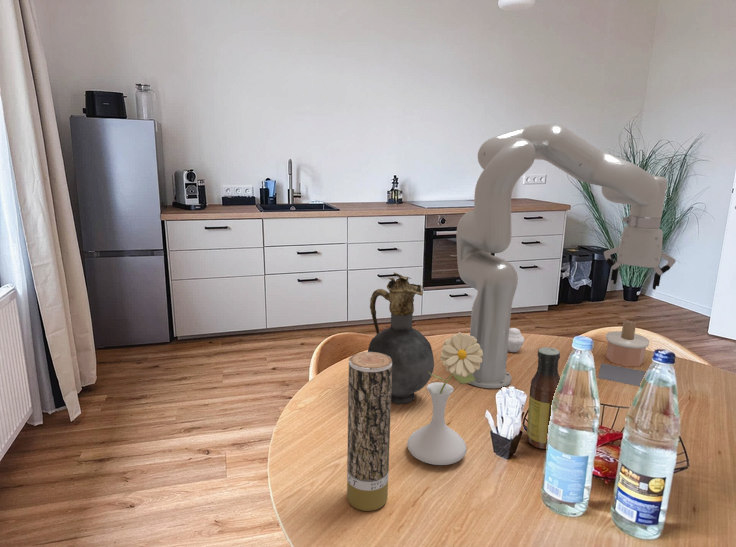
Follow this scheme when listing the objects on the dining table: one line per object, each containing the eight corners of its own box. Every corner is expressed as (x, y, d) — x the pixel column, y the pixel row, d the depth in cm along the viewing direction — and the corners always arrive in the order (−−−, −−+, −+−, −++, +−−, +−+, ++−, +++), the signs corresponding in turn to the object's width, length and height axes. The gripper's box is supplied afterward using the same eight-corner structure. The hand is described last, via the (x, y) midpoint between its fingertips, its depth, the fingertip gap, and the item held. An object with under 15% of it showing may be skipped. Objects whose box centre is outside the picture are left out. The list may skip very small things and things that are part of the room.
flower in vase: (403, 467, 97) (409, 339, 92) (409, 435, 108) (414, 319, 102) (475, 476, 95) (486, 345, 89) (474, 442, 106) (483, 324, 100)
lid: (616, 348, 142) (618, 328, 141) (599, 334, 153) (601, 316, 151) (656, 348, 142) (659, 329, 141) (636, 335, 153) (639, 316, 151)
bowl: (615, 367, 145) (618, 346, 143) (601, 354, 153) (604, 335, 152) (647, 368, 145) (651, 347, 143) (632, 355, 153) (635, 336, 152)
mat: (645, 389, 132) (645, 387, 132) (597, 379, 137) (597, 377, 136) (645, 373, 141) (645, 371, 141) (601, 364, 146) (601, 363, 146)
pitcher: (402, 416, 116) (408, 284, 108) (352, 385, 130) (354, 266, 123) (438, 403, 122) (445, 277, 115) (386, 374, 137) (390, 261, 130)
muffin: (508, 355, 152) (510, 332, 150) (497, 347, 157) (499, 325, 156) (527, 353, 153) (529, 330, 151) (516, 345, 159) (518, 323, 157)
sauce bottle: (554, 435, 109) (564, 345, 105) (562, 452, 103) (573, 357, 99) (522, 433, 110) (531, 343, 105) (527, 450, 104) (537, 355, 99)
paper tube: (386, 486, 92) (390, 352, 86) (388, 513, 85) (394, 369, 79) (346, 486, 91) (348, 351, 86) (346, 513, 85) (348, 368, 79)
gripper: (607, 221, 140) (598, 283, 144) (682, 228, 133) (670, 293, 136) (609, 218, 147) (600, 278, 151) (680, 224, 139) (669, 287, 143)
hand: (634, 285), depth 144 cm, fingers open, 9 cm apart
